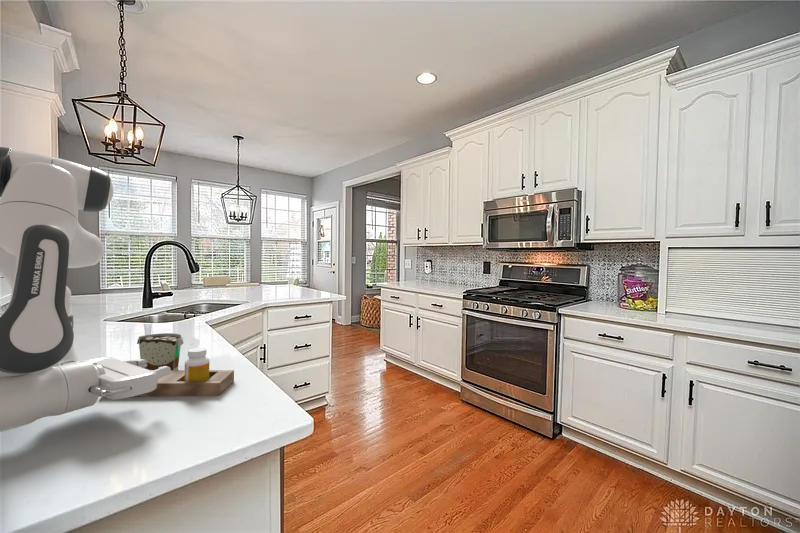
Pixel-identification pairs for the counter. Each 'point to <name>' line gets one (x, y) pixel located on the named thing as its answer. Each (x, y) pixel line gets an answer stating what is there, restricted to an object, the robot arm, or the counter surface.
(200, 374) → the supplement bottle
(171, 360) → the food container
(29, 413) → the robot arm
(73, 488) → the counter surface
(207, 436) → the counter surface
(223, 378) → the socket rail
